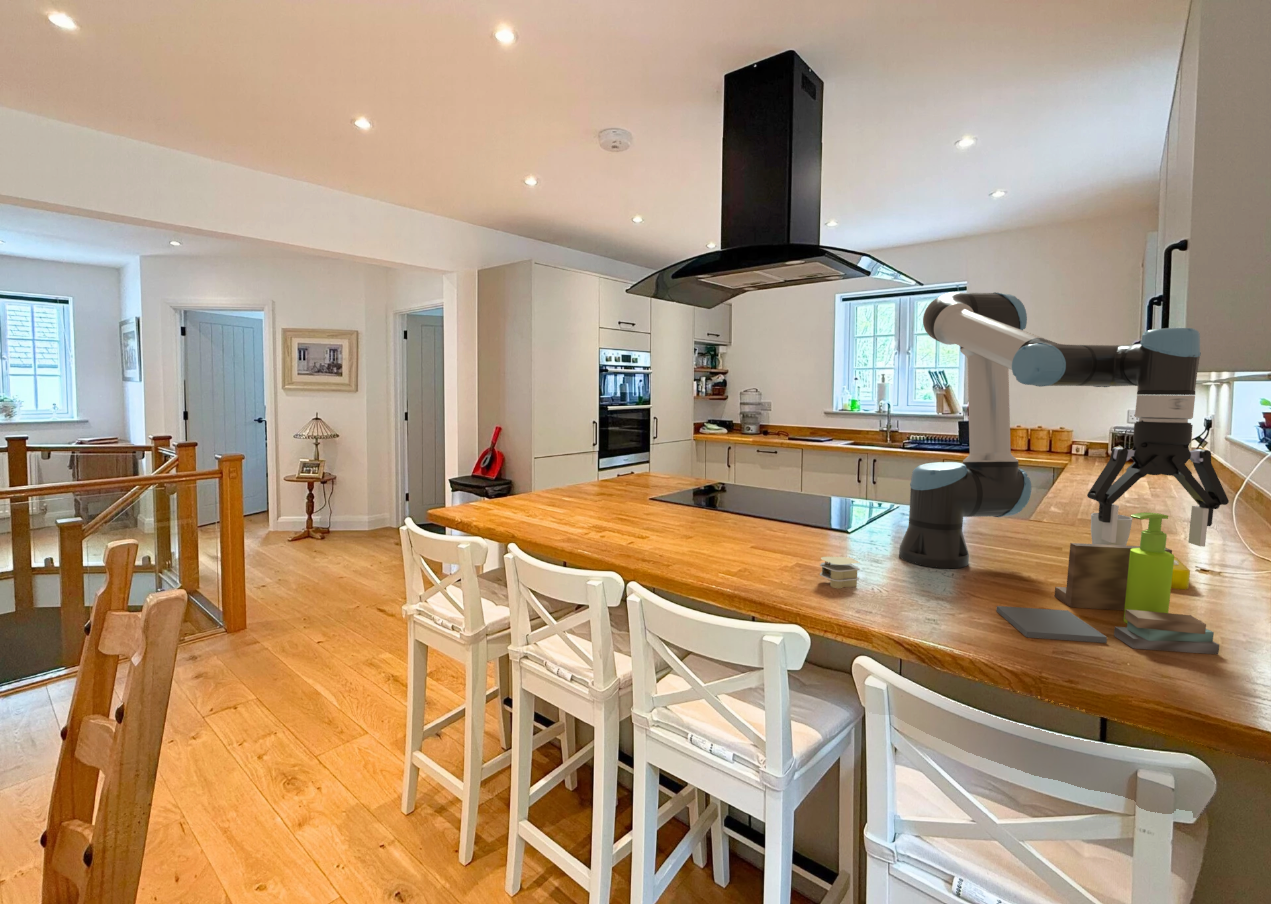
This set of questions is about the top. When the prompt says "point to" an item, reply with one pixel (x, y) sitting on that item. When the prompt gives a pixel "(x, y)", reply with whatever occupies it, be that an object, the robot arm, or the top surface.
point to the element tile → (1180, 575)
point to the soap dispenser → (1149, 569)
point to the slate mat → (1050, 624)
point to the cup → (1121, 533)
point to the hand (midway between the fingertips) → (1152, 542)
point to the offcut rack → (1103, 586)
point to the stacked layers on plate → (840, 571)
